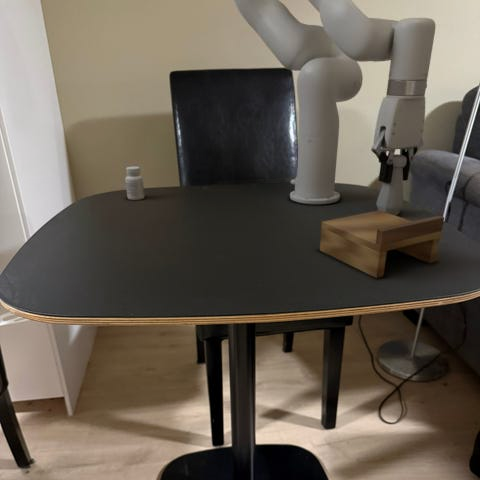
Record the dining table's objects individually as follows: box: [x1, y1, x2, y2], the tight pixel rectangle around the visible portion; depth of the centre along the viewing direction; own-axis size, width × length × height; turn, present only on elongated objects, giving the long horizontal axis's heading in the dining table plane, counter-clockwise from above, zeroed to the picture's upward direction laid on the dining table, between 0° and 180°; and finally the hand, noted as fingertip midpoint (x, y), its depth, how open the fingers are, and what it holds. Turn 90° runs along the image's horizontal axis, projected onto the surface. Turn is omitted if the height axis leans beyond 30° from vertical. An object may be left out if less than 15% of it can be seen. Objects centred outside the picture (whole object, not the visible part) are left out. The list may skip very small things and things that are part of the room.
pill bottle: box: [124, 165, 145, 201], centre depth 123 cm, size 4×4×8 cm
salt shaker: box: [376, 153, 407, 216], centre depth 107 cm, size 6×6×13 cm
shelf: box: [319, 209, 445, 279], centre depth 85 cm, size 15×14×8 cm
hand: (393, 179), depth 106 cm, fingers closed on salt shaker, 4 cm apart
